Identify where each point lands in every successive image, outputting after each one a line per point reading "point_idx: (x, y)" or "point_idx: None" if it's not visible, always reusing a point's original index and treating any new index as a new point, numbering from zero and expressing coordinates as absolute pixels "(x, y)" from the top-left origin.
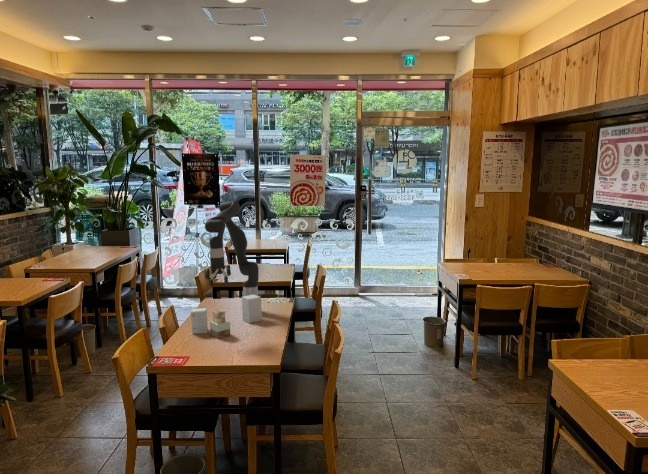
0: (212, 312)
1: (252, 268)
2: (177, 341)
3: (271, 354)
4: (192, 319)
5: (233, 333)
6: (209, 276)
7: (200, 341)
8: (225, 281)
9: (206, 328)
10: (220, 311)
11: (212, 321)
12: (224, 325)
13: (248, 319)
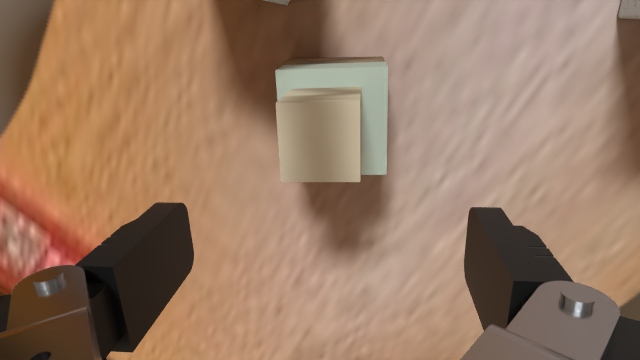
0: (278, 101)
1: None
2: (95, 28)
3: None
4: None
5: (411, 130)
6: (10, 320)
7: (205, 122)
8: (476, 276)
9: (281, 4)
10: (326, 162)
11: (291, 80)
12: None
13: (636, 4)
